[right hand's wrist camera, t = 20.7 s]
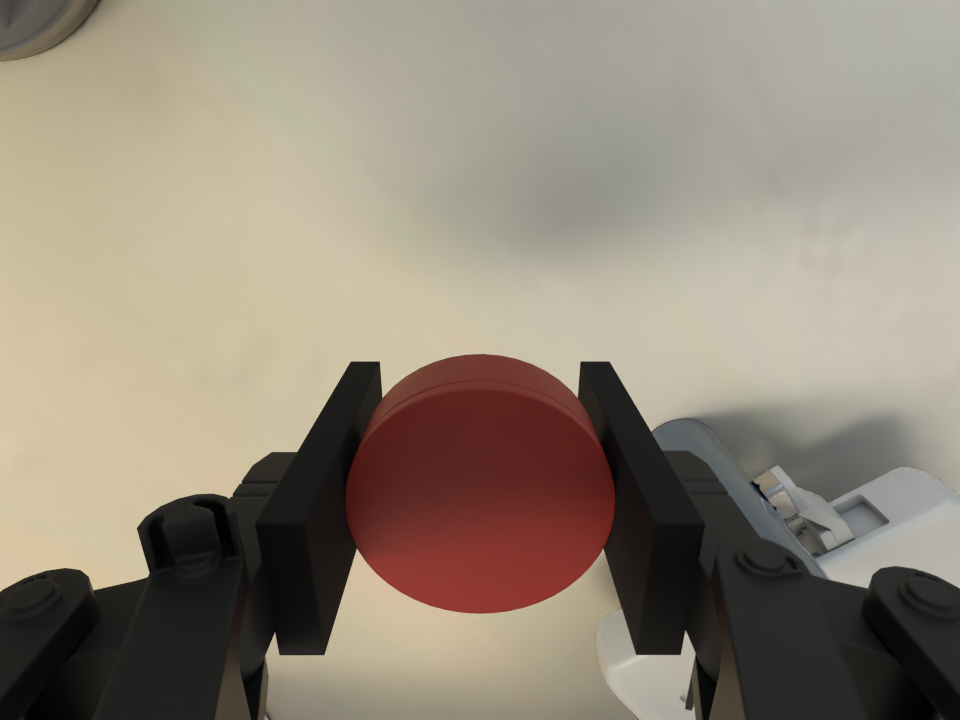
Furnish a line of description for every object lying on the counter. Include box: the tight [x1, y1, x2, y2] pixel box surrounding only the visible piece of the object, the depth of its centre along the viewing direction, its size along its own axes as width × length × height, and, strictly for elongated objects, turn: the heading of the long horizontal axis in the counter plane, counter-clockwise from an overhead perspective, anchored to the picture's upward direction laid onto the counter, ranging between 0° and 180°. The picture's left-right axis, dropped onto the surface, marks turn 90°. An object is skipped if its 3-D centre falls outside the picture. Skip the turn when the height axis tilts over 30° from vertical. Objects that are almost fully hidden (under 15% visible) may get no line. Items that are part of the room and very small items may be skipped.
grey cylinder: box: [652, 420, 831, 580], centre depth 25 cm, size 5×5×19 cm
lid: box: [345, 354, 616, 613], centre depth 11 cm, size 5×5×2 cm
